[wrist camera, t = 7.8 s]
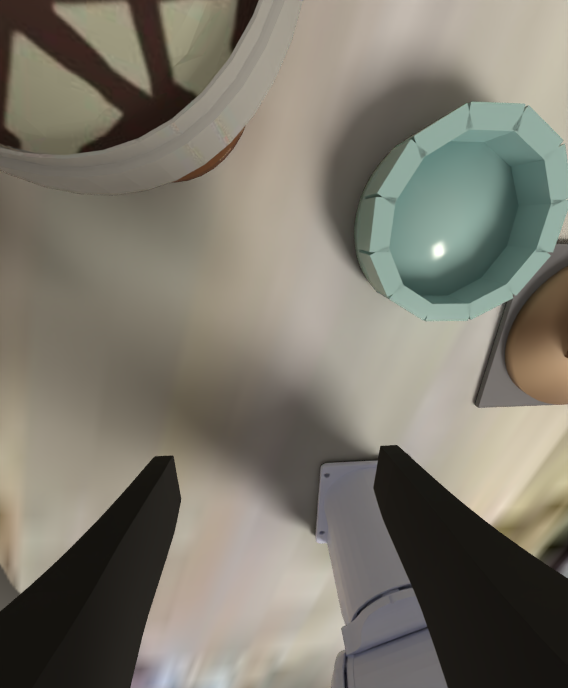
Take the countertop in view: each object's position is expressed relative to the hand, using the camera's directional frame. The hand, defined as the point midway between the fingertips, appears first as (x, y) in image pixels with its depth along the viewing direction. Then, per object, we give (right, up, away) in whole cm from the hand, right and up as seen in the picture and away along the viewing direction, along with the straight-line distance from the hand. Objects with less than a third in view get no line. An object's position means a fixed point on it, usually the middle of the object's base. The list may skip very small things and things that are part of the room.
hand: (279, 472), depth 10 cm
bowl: (+9, +12, +7) cm, 16 cm away
